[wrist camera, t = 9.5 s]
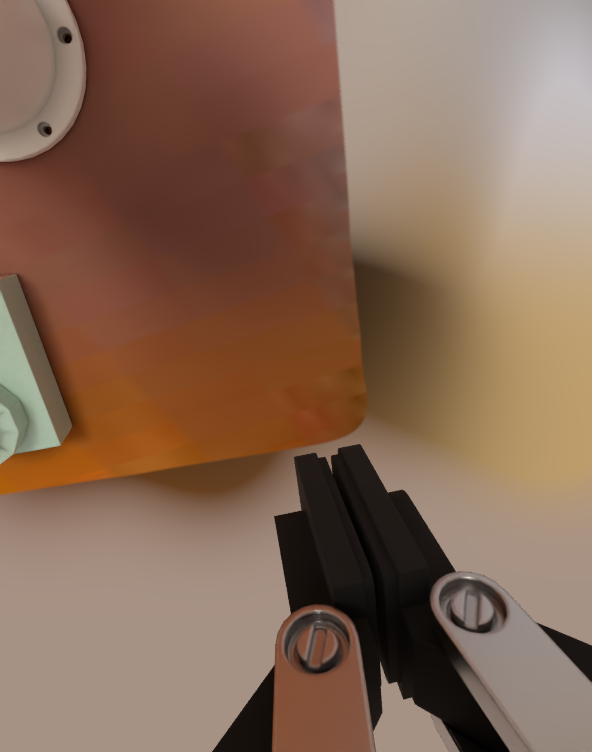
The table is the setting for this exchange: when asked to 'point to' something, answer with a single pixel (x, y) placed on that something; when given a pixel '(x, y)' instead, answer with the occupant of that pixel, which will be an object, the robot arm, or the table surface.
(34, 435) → the green push button box
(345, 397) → the table surface
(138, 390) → the table surface
